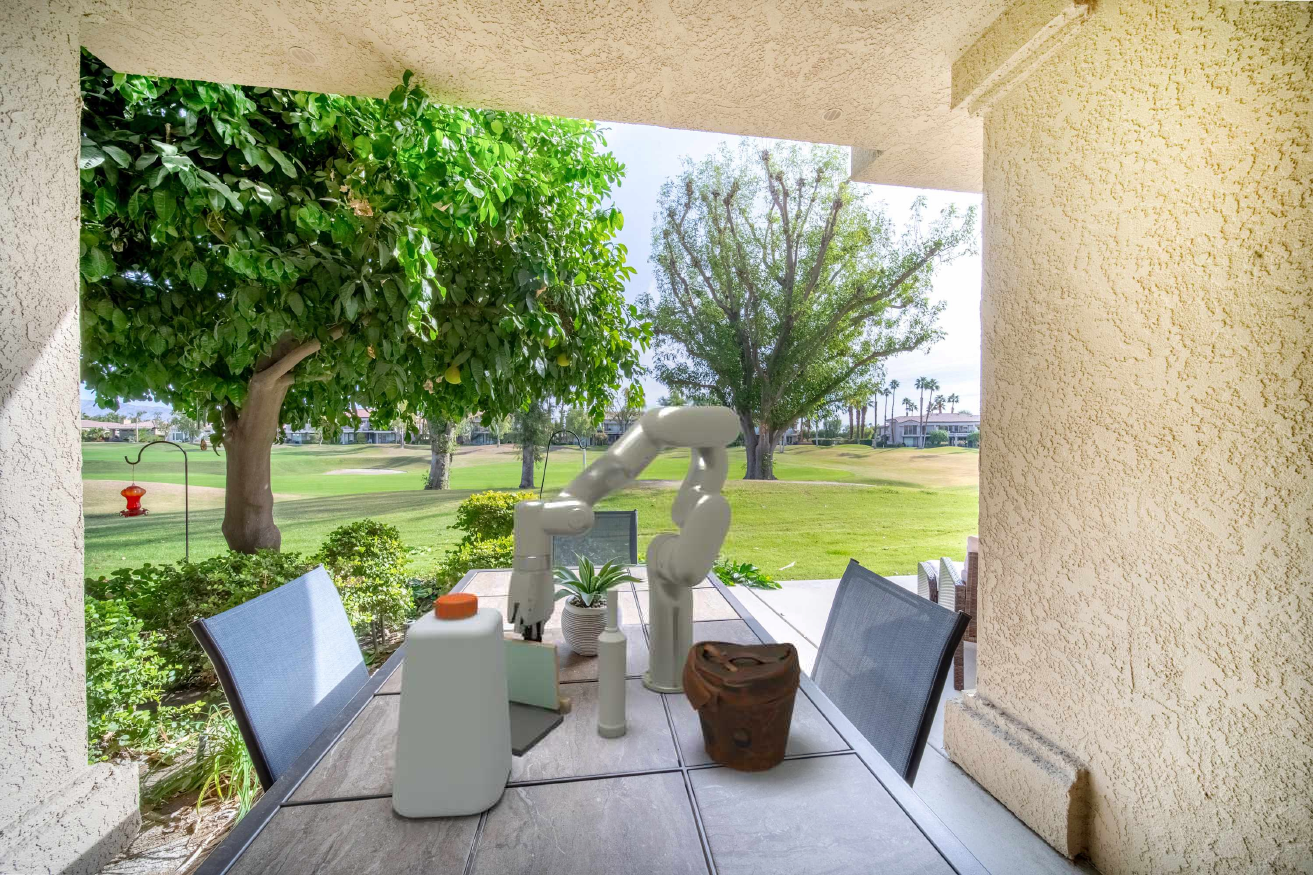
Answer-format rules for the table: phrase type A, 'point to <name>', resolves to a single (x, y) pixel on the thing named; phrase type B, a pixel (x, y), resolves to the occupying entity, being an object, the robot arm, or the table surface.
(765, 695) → the case
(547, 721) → the rubber mat
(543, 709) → the tile stand
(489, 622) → the plastic bottle
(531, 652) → the tile
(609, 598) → the bottle
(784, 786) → the table surface
